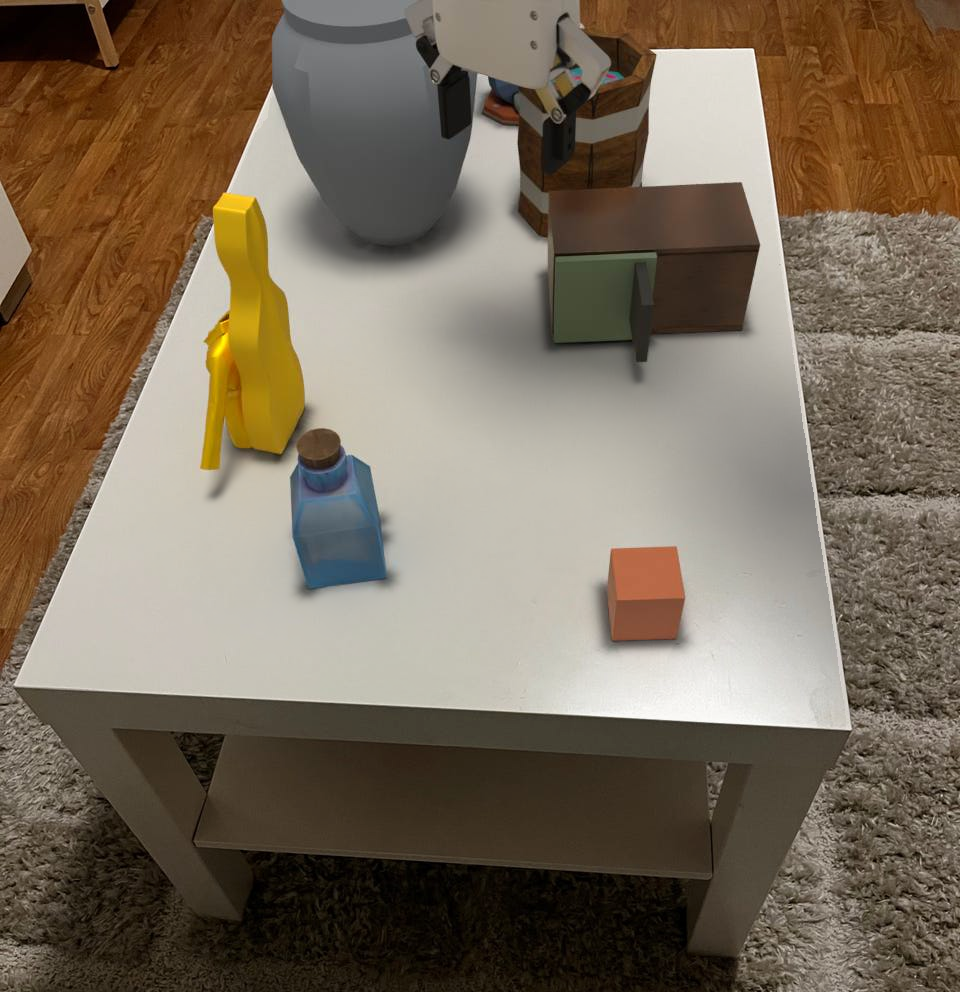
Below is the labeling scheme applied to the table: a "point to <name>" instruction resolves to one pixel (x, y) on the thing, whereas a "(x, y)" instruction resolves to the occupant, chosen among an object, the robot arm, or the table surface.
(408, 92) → the vase
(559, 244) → the cabinet
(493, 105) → the model
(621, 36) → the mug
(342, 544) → the perfume bottle
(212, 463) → the figure statuette
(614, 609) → the block
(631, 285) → the door
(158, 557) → the table surface
